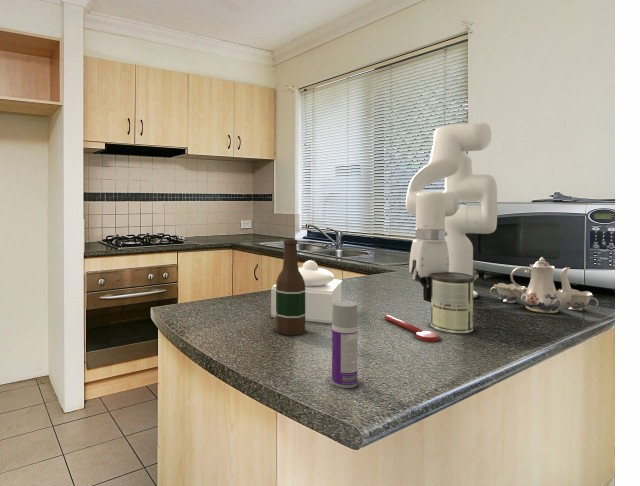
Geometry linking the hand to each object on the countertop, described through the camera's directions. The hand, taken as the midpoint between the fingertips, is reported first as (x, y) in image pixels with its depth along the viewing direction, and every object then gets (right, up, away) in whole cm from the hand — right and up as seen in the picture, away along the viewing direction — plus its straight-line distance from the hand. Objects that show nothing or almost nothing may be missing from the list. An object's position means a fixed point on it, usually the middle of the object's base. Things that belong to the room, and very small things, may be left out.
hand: (429, 300), depth 122 cm
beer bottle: (-40, -6, -8) cm, 41 cm away
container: (-33, -7, -40) cm, 52 cm away
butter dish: (-32, -6, +10) cm, 35 cm away
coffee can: (+3, -6, -6) cm, 9 cm away
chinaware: (+42, -6, +15) cm, 45 cm away
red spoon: (-9, -6, -7) cm, 13 cm away
